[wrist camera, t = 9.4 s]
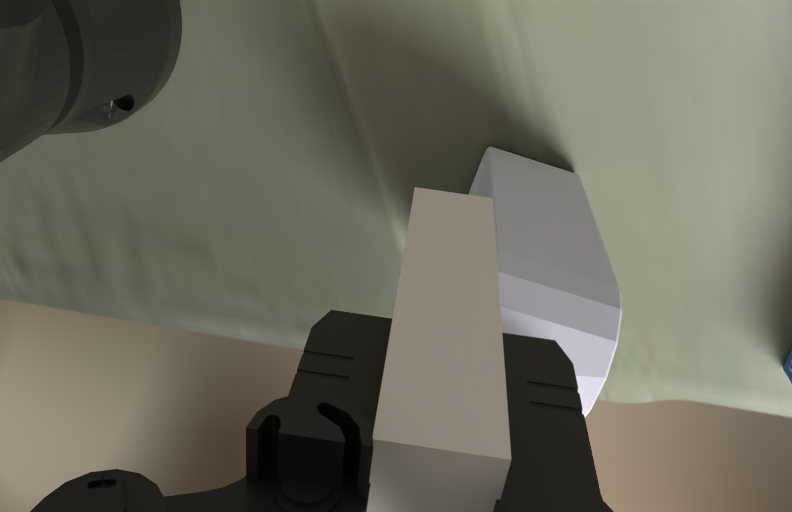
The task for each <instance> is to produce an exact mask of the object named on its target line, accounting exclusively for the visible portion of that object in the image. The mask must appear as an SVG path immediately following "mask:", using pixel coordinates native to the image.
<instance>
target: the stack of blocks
mask: <svg viewBox="0 0 792 512" xmlns="http://www.w3.org/2000/svg"><path fill="white" fill-rule="evenodd" d="M783 370H784V371H785V373H786V374H787V376H788V378H789V379H790V381H791V383H792V349H791V352H790V354H789V356H788V358H787V360H786V362H785V364H784V367H783Z"/></svg>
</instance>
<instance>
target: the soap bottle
mask: <svg viewBox="0 0 792 512" xmlns="http://www.w3.org/2000/svg"><path fill="white" fill-rule="evenodd" d="M468 195H474V196H481V197H489V198H493V211H494V224H495V238H496V252H497V266H498V280H499V294H500V308H501V322H502V333H509V334H516V335H523V336H530V337H537V338H543V339H550V340H556V342H557V343H558V344H559V346H560V347H561V348H562V350H563V351H564V352H565V354H566V355H567V356H568V357H569V359H570V360H571V361H572V363H573V365H574V370H575V375H576V380H577V384H578V393H579V394H580V399H581V403H582V408H583V410H582V414H584V418H585V417H586V415H587V414H588V413H589V411H590V410H591V409H592V407H593V405H594V403H595V401H596V399H597V397H598V395H599V393H600V391H601V389H602V387H603V385H604V383H605V380H606V378H607V376H608V372H609V369H610V366H611V363H612V360H613V357H614V353H615V350H616V347H617V344H618V338H619V331H620V324H621V317H622V303H621V292H620V288H619V285H618V282H617V279H616V276H615V274H614V271H613V268H612V265H611V262H610V260H609V257H608V254H607V251H606V249H605V246H604V243H603V240H602V237H601V235H600V232H599V229H598V226H597V223H596V221H595V218H594V215H593V212H592V209H591V207H590V204H589V201H588V198H587V195H586V193H585V190H584V187H583V184H582V181H581V179H580V176H579V175H578V174H575V173H572V172H569V171H566V170H563V169H560V168H557V167H553V166H550V165H547V164H544V163H541V162H538V161H535V160H532V159H528V158H525V157H522V156H519V155H516V154H513V153H510V152H507V151H503V150H500V149H497V148H494V147H488V148H487V149H486V151H485V153H484V156H483V158H482V160H481V163H480V165H479V168H478V171H477V173H476V176H475V178H474V181H473V183H472V186H471V188H470V191H469V194H468Z"/></svg>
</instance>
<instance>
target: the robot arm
mask: <svg viewBox="0 0 792 512" xmlns="http://www.w3.org/2000/svg"><path fill="white" fill-rule="evenodd" d="M181 32H182V18H181V7H180V1H179V0H0V162H2V161H3V160H5V159H6V158H8V157H9V156H11V155H13V154H14V153H16V152H17V151H19V150H20V149H22V148H24V147H25V146H27V145H28V144H30V143H31V142H33V141H35V140H36V139H37V138H39V137H40V136H42V135H46V134H63V133H79V132H89V131H95V130H100V129H103V128H106V127H109V126H112V125H114V124H117V123H119V122H121V121H123V120H125V119H127V118H128V117H130V116H131V115H133V114H134V113H135V112H137V111H138V110H140V109H141V108H142V107H144V106H145V105H146V104H148V103H149V102H150V101H151V100H152V99H153V98H154V97H155V96H156V95H157V94H158V93H159V92H160V91H161V89H162V88H163V87H164V85H165V84H166V82H167V81H168V79H169V77H170V75H171V73H172V71H173V69H174V66H175V64H176V60H177V57H178V53H179V48H180V42H181ZM582 410H583V408H582V403H581V399H580V394H579V393H578V384H577V380H576V375H575V370H574V365H573V363H572V361H571V360H570V359H569V357H568V356H567V355H566V354H565V352H564V351H563V350H562V348H561V347H560V346H559V344H558V343H557V342H556V340H550V339H543V338H537V337H530V336H523V335H516V334H509V333H502V322H501V308H500V294H499V280H498V266H497V252H496V238H495V224H494V211H493V198H489V197H481V196H474V195H467V194H460V193H453V192H446V191H438V190H431V189H424V188H417V187H415V189H414V195H413V201H412V207H411V213H410V218H409V224H408V230H407V236H406V242H405V248H404V254H403V260H402V266H401V272H400V278H399V283H398V289H397V295H396V301H395V307H394V313H393V319H390V318H383V317H376V316H369V315H363V314H356V313H349V312H342V311H335V310H331V311H330V312H328V313H327V314H326V315H325V316H324V317H323V318H322V319H321V320H320V321H318V322H317V323H316V324H315V325H314V326H313V327H312V328H311V331H310V334H309V337H308V340H307V342H306V345H305V348H304V353H303V355H302V357H301V360H300V363H299V366H298V369H297V374H296V375H295V378H294V381H293V383H292V386H291V389H290V392H289V395H288V396H287V397H284V398H280V399H276V400H274V401H273V402H271V403H270V404H268V405H267V406H265V407H264V408H262V409H261V410H259V411H258V412H257V413H256V414H255V416H254V417H253V419H252V420H251V422H250V423H249V424H248V426H247V427H246V476H245V477H244V478H242V479H241V480H239V481H237V482H234V483H232V484H230V485H227V486H225V487H223V488H218V489H214V490H209V491H205V492H198V493H190V494H183V495H175V496H167V497H163V495H162V493H161V492H160V490H159V488H158V486H157V484H155V483H154V482H152V481H150V480H149V479H147V478H146V477H144V476H143V475H141V474H140V473H135V472H129V471H124V470H118V469H115V470H106V471H97V472H90V473H88V474H85V475H83V476H80V477H78V478H75V479H73V480H70V481H68V482H65V483H64V484H63V485H61V486H60V487H58V488H57V489H56V490H55V491H53V492H52V493H50V494H49V495H48V496H46V497H45V498H44V499H43V500H42V501H41V502H40V503H39V504H37V506H35V507H34V509H32V510H31V511H30V512H613V511H612V510H611V508H610V507H609V506H608V505H607V504H606V503H605V502H603V499H602V497H601V494H600V489H599V484H598V479H597V475H596V470H595V465H594V461H593V456H592V451H591V446H590V441H589V437H588V432H587V427H586V422H585V418H584V414H582Z"/></svg>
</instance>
